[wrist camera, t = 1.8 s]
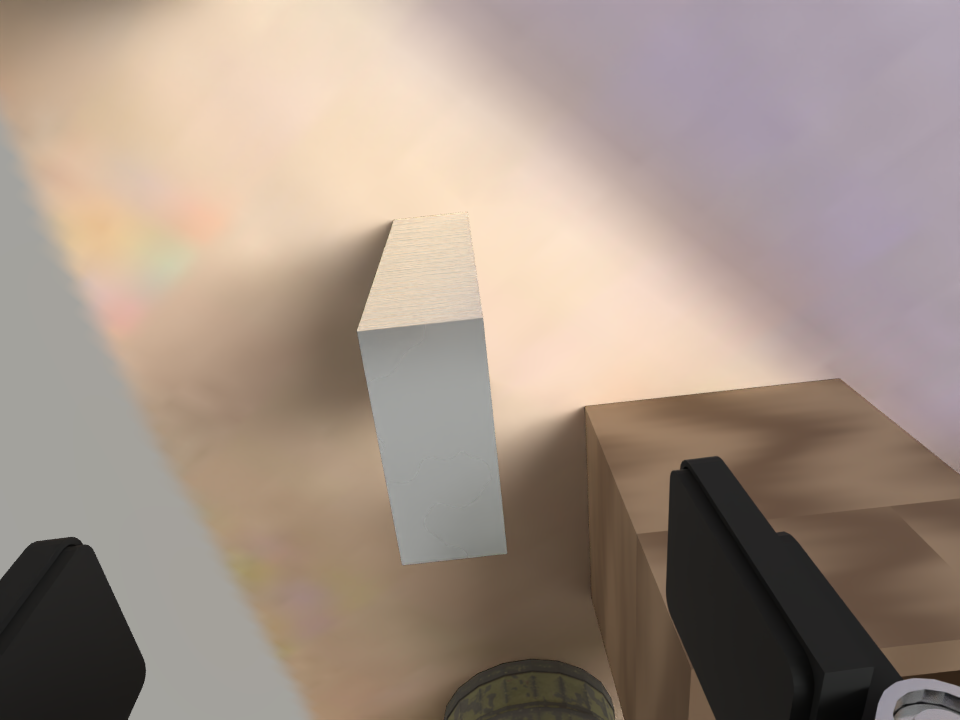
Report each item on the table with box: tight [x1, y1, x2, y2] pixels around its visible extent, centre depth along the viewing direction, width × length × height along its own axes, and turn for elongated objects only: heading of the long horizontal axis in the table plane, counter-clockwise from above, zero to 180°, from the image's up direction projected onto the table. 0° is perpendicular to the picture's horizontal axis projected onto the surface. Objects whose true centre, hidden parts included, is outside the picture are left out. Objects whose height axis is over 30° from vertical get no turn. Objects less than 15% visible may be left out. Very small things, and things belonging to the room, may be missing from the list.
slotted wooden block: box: [585, 379, 960, 720], centre depth 22 cm, size 10×10×12 cm
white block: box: [357, 212, 507, 565], centre depth 18 cm, size 2×6×10 cm, turn 6°
